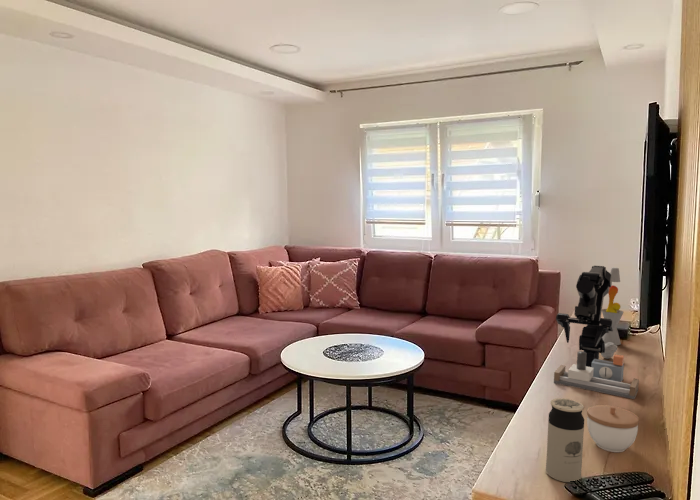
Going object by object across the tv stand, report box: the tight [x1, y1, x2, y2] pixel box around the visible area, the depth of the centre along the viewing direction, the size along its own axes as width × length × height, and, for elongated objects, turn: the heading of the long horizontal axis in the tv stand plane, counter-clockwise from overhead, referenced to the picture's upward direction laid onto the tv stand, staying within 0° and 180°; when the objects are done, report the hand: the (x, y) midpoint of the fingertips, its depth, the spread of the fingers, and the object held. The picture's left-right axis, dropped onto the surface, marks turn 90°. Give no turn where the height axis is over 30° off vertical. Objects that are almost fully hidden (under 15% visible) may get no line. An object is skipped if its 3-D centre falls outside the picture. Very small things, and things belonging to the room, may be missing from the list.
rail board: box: [553, 364, 640, 400], centre depth 187 cm, size 10×26×4 cm, turn 55°
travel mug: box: [545, 397, 585, 483], centre depth 127 cm, size 8×8×18 cm
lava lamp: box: [601, 267, 624, 346], centre depth 241 cm, size 9×9×35 cm
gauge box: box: [591, 358, 625, 382], centre depth 194 cm, size 6×10×6 cm, turn 55°
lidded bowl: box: [586, 404, 640, 453], centre depth 142 cm, size 13×13×11 cm
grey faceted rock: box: [600, 342, 618, 360], centre depth 219 cm, size 6×7×7 cm
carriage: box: [567, 350, 594, 382], centre depth 189 cm, size 8×7×9 cm
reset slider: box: [612, 353, 625, 366], centre depth 192 cm, size 3×3×3 cm
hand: (581, 344), depth 188 cm, fingers open, 9 cm apart
